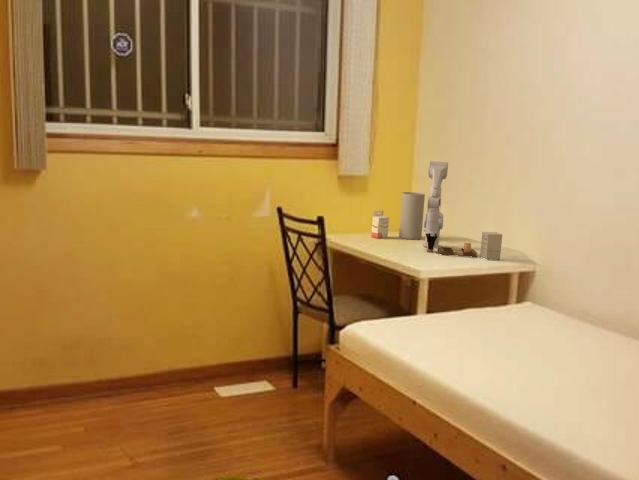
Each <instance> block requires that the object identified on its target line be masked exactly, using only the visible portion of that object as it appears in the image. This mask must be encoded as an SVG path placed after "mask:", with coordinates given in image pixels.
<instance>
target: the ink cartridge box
mask: <svg viewBox="0 0 639 480" xmlns="http://www.w3.org/2000/svg"><path fill="white" fill-rule="evenodd" d="M384 213H385V211H384V210H374V211H373V214H372V223H371V236H370V237H371V238H373V239H388V238H389V237H388V236H389V223H390V217H389V216H385V215H384Z"/></svg>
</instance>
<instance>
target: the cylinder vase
mask: <svg viewBox="0 0 639 480" xmlns="http://www.w3.org/2000/svg"><path fill="white" fill-rule="evenodd" d="M425 197H426V194H425V193H421V192H411V191H410V192H408V191H407V192H406V191H405V192H404V191H403V192H402V193H401V204H400V205H401V206H400V216H399V229H398V230H399V232H398V237H399V238H400V239H404V240H411V241H412V240H413V241H415V240H421V239H422V236H423V226H424V213H425V212H424V210H425Z"/></svg>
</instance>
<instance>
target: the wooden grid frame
mask: <svg viewBox="0 0 639 480" xmlns="http://www.w3.org/2000/svg"><path fill="white" fill-rule="evenodd" d="M436 249H437V251H436V252H437V253H438V255H439V254H442V255H441V256H449V255H458V256H457V257H463V256H472V257H471V258H478V252H477V251H476V250H475V249H474V248H471V251H470V253H468V252H464V248H461V247H459V248H458V247H446V246H440V247H438V248H436Z"/></svg>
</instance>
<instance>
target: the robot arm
mask: <svg viewBox="0 0 639 480" xmlns="http://www.w3.org/2000/svg"><path fill="white" fill-rule="evenodd" d="M448 171H449V162H448V161H434V160H433V161H432V160H430V161H429V162H428V170H427V172H428V173H427V174H428V178H429V179H432V185H431V186H430V187H429V191H428V198H427V200H426V201H427V202H426V212H424V213H425V214H424V216H423V228H424V229H423V232H425V234H424V235H425V236H424V242H423V243H422V245H423V247H424V248H427V243H428V249H433V247H434V248H436V249H437V248H438V247H441V246H440V232H441V230H443V227H444V215H443V213H442V212H441V210H440V208H441V206H442V184H443V180H445V179H447V177H448Z"/></svg>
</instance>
